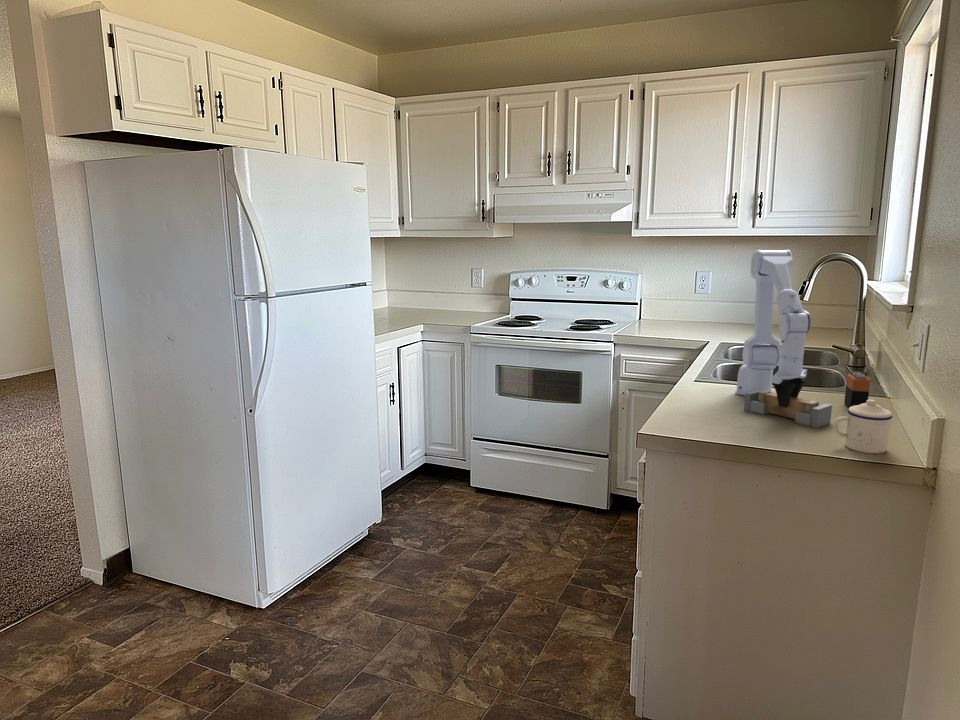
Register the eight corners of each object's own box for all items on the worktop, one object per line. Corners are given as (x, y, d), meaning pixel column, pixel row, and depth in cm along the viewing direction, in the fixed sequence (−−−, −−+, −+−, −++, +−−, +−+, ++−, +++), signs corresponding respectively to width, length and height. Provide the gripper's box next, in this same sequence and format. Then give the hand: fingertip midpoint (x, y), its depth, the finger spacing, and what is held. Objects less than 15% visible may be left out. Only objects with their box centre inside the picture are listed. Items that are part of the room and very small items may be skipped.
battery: (850, 410, 186) (854, 375, 184) (843, 403, 192) (847, 370, 190) (867, 411, 185) (871, 376, 183) (860, 404, 191) (864, 371, 189)
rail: (757, 409, 185) (759, 392, 184) (764, 407, 187) (765, 390, 186) (810, 422, 173) (812, 403, 172) (816, 420, 175) (819, 401, 174)
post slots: (743, 410, 186) (745, 392, 185) (757, 405, 191) (759, 388, 190) (816, 428, 170) (818, 409, 169) (830, 422, 174) (832, 404, 173)
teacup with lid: (879, 442, 159) (885, 396, 157) (894, 455, 151) (900, 406, 148) (825, 439, 162) (830, 393, 159) (837, 452, 153) (842, 403, 151)
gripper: (791, 362, 169) (786, 413, 172) (819, 355, 178) (814, 404, 181) (766, 358, 175) (761, 407, 178) (794, 351, 183) (789, 398, 186)
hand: (786, 405), depth 180 cm, fingers closed on rail, 3 cm apart
